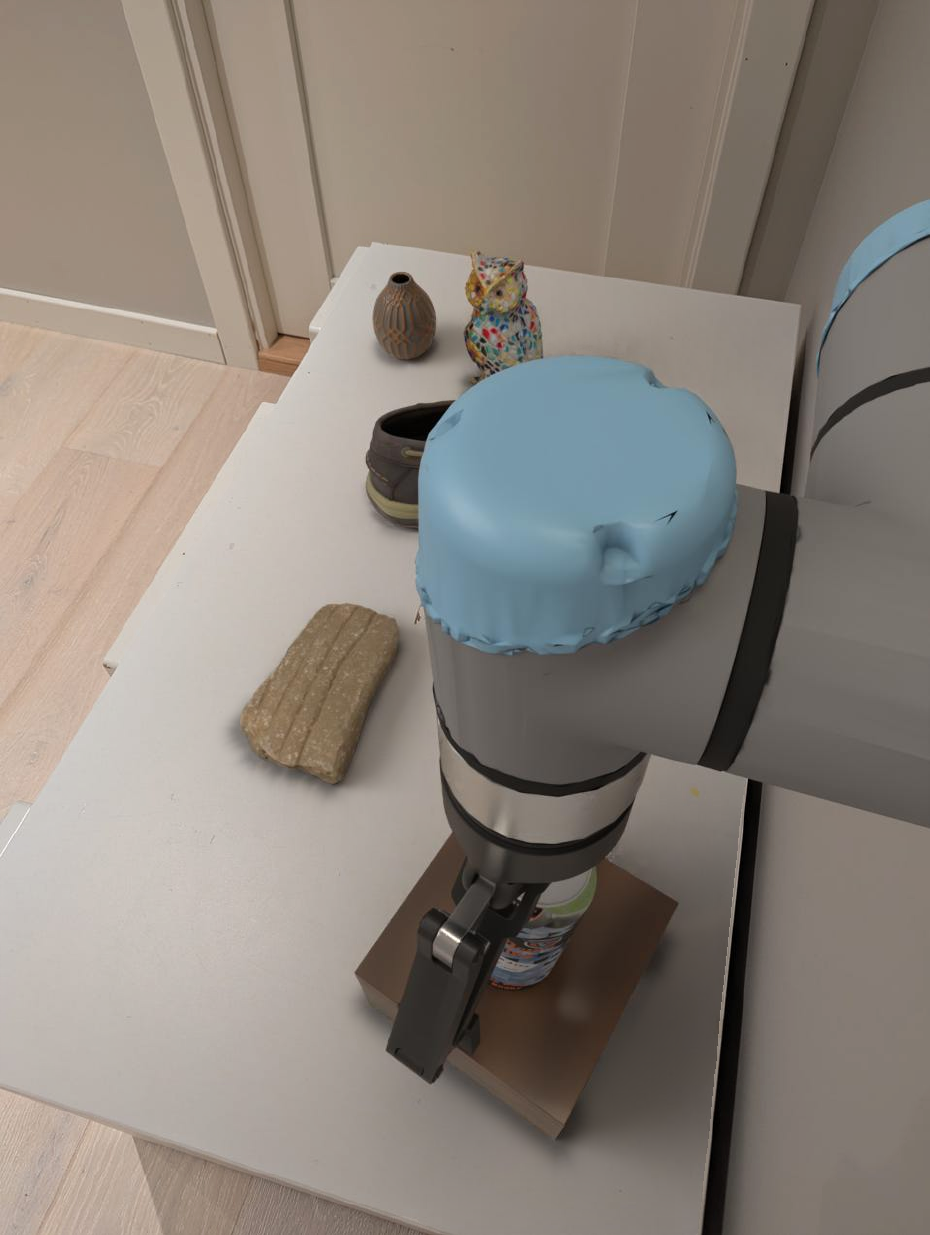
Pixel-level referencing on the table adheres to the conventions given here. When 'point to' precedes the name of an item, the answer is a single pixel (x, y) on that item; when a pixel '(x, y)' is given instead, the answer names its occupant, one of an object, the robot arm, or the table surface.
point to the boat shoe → (400, 460)
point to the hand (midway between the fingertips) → (521, 924)
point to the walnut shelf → (535, 989)
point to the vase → (404, 318)
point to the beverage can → (544, 933)
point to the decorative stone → (322, 691)
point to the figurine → (500, 316)
